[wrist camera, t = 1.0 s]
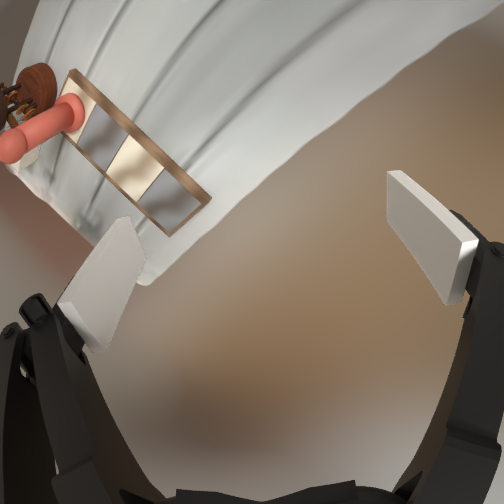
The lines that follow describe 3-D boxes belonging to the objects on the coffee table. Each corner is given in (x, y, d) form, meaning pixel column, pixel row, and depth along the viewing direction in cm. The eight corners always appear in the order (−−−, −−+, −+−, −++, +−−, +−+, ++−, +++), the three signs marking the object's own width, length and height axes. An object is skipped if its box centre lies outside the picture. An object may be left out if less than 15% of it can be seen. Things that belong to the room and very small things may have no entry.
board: (54, 118, 42) (49, 121, 41) (75, 68, 35) (68, 70, 34) (172, 232, 53) (168, 238, 52) (212, 197, 46) (208, 203, 45)
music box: (68, 78, 36) (-27, 134, 23) (57, 123, 44) (-21, 182, 31) (27, 46, 32) (-59, 92, 19) (19, 89, 40) (-55, 138, 27)
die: (23, 144, 49) (3, 156, 44) (27, 125, 45) (6, 138, 40) (36, 159, 50) (17, 173, 46) (41, 141, 47) (21, 155, 42)
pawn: (55, 114, 40) (-14, 156, 28) (67, 85, 36) (-11, 123, 24) (77, 137, 42) (8, 185, 31) (90, 108, 38) (13, 153, 26)
